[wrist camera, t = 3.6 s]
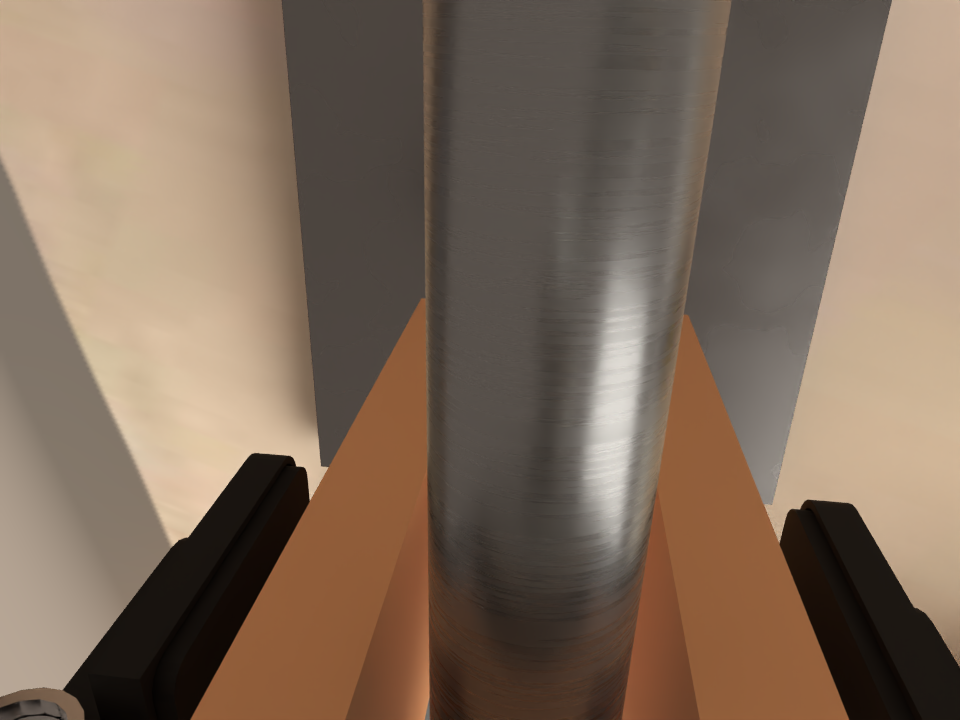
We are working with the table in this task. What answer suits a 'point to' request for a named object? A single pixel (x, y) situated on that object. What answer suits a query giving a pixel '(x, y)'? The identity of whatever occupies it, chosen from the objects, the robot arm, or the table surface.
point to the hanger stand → (566, 281)
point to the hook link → (404, 579)
